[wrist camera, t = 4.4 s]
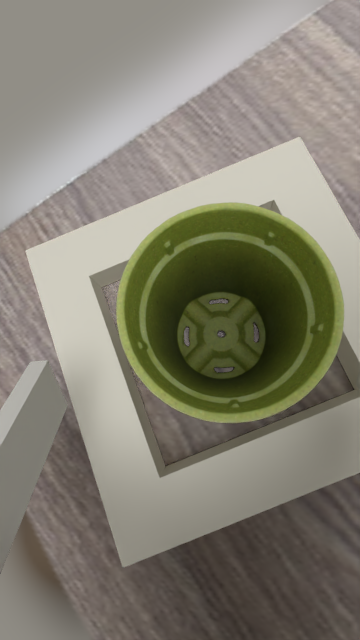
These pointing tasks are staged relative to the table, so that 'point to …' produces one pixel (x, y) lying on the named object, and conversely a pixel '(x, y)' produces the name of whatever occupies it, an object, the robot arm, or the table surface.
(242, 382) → the plant pot
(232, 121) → the table surface
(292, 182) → the well board
